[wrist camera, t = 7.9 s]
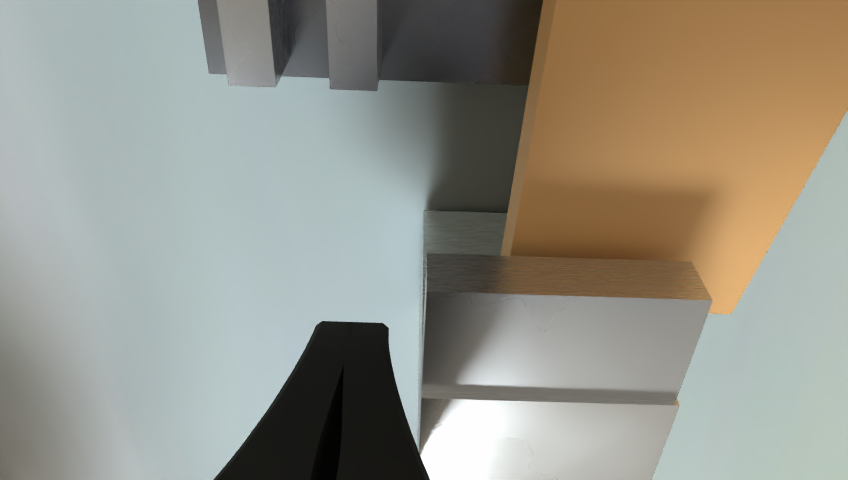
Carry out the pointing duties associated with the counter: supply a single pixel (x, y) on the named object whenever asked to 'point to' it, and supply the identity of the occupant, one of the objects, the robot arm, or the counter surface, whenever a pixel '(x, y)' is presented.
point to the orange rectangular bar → (675, 130)
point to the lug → (547, 357)
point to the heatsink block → (371, 41)
